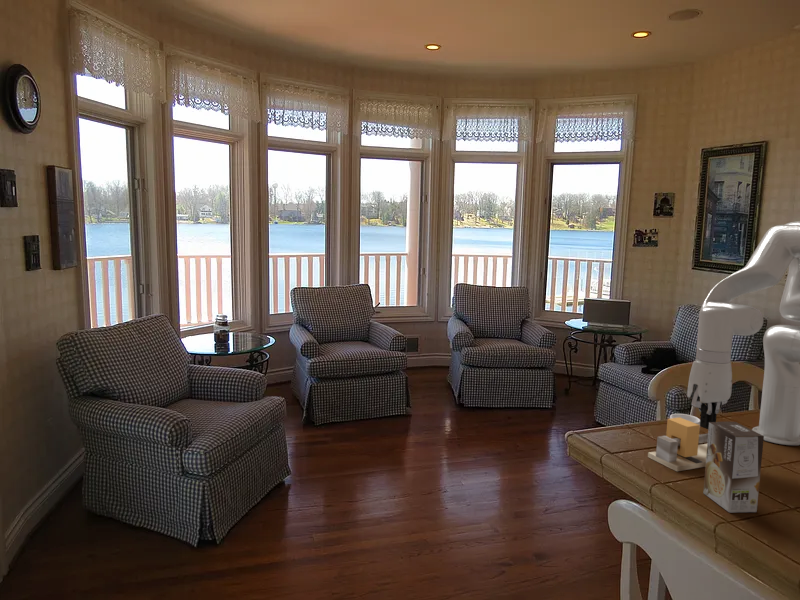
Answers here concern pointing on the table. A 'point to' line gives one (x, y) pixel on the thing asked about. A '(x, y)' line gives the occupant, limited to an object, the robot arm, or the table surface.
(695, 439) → the collar
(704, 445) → the pipe stand
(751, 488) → the coffee box
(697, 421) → the teacup
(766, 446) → the table surface
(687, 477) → the table surface
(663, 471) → the table surface
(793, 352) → the robot arm
